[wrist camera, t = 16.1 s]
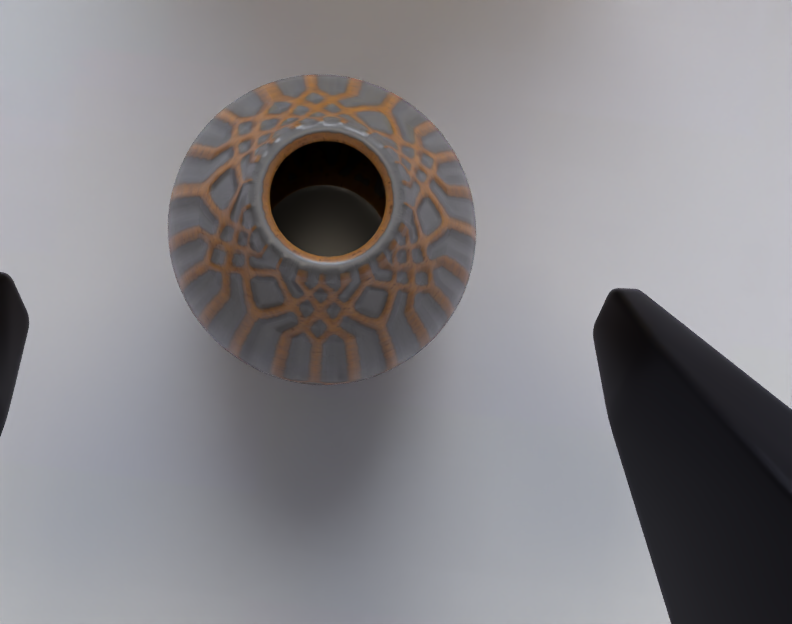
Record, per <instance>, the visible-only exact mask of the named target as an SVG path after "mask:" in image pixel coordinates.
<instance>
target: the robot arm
mask: <svg viewBox="0 0 792 624" xmlns="http://www.w3.org/2000/svg"><path fill="white" fill-rule="evenodd" d="M28 328H29V317H28V313H27V310H26V308H25V306H24V304H23V301H22V299H21V297H20V295H19V293H18V290H17V288H16V286H15V284H14V281H13V280H12V278H11V277H10V276H9V275H8V274H6V273H3V272H0V436H1V433H2V430H3V427H4V424H5V421H6V418H7V415H8V411H9V407H10V404H11V399H12V395H13V391H14V387H15V383H16V379H17V375H18V370H19V366H20V362H21V358H22V354H23V350H24V345H25V341H26V337H27V333H28ZM593 338H594V344H595V350H596V355H597V360H598V366H599V371H600V377H601V382H602V388H603V393H604V399H605V404H606V409H607V414H608V418H609V422H610V426H611V429H612V433H613V436H614V439H615V443H616V446H617V449H618V452H619V456H620V459H621V462H622V465H623V469H624V472H625V475H626V478H627V482H628V485H629V488H630V491H631V495H632V498H633V501H634V504H635V508H636V511H637V514H638V517H639V521H640V524H641V527H642V530H643V534H644V537H645V540H646V543H647V547H648V550H649V553H650V556H651V560H652V563H653V566H654V569H655V573H656V576H657V579H658V582H659V586H660V589H661V592H662V595H663V599H664V602H665V605H666V608H667V611H668V615H669V618H670V621H671V624H792V409H790V408H789V407H788V406H786V405H785V404H784V403H783V402H781V401H780V400H779V399H778V398H776V397H775V396H774V395H772V394H771V393H770V392H769V391H767V390H766V389H765V388H764V387H762V386H761V385H760V384H759V383H757V382H756V381H755V380H753V379H752V378H751V377H750V376H748V375H747V374H746V373H745V372H743V371H742V370H741V369H740V368H738V367H737V366H736V365H734V364H733V363H732V362H731V361H729V360H728V359H727V358H726V357H724V356H723V355H722V354H720V353H719V352H718V351H717V350H715V349H714V348H713V347H712V346H710V345H709V344H708V343H707V342H705V341H704V340H703V339H701V338H700V337H699V336H698V335H696V334H695V333H694V332H693V331H691V330H690V329H689V328H687V327H686V326H685V325H684V324H682V323H681V322H680V321H679V320H677V319H676V318H675V317H674V316H672V315H671V314H670V313H668V312H667V311H666V310H665V309H663V308H662V307H661V306H660V305H658V304H657V303H656V302H654V301H653V300H652V299H651V298H649V297H648V296H647V295H646V294H644V293H643V292H642V291H640V290H638V289H626V288H616V289H613V290H612V291H611V292H610V293H609V294H608V296H607V298H606V300H605V302H604V304H603V307H602V309H601V311H600V313H599V315H598V317H597V319H596V322H595V324H594V329H593Z"/></svg>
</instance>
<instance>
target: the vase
mask: <svg viewBox="0 0 792 624" xmlns="http://www.w3.org/2000/svg"><path fill="white" fill-rule="evenodd" d="M168 240H169V248H170V256H171V260H172V265H173V269H174V272H175V276H176V279H177V282H178V284H179V287H180V289H181V292H182V294H183V296H184V298H185V300H186V302H187V304H188V305H189V307H190V309H191V311H192V312H193V314H194V315H195V317H196V318H197V319H198V321H199V322H200V324H201V325H202V326H203V327H204V328H205V330H206V331H207V332H208V333H209V334H210V335H211V336H212V337H213V338H214V339H215V340H216V341H217V342H218V343H219V344H220V345H221V346H222V347H223V348H225V349H226V350H227V351H228V352H230V353H231V354H232V355H234V356H235V357H236V358H238V359H240V360H241V361H243V362H244V363H246V364H248V365H250V366H251V367H253V368H255V369H257V370H259V371H262V372H264V373H266V374H269V375H271V376H274V377H277V378H280V379H284V380H288V381H292V382H298V383H303V384H314V385H334V384H344V383H351V382H356V381H360V380H364V379H367V378H371V377H374V376H377V375H379V374H382V373H384V372H386V371H388V370H391V369H393V368H395V367H396V366H398V365H400V364H402V363H403V362H405V361H407V360H408V359H409V358H411V357H412V356H414V355H415V354H417V353H418V352H419V351H420V350H421V349H423V348H424V347H425V346H426V345H427V344H428V343H429V342H430V341H431V340H432V339H433V338H434V337H435V336H436V335H437V334H438V333H439V332H440V331H441V329H442V328H443V327H444V326H445V324H446V323H447V322H448V320H449V319H450V317H451V316H452V314H453V313H454V311H455V309H456V307H457V305H458V304H459V302H460V300H461V298H462V295H463V293H464V291H465V288H466V285H467V283H468V280H469V276H470V273H471V269H472V264H473V259H474V253H475V244H476V219H475V211H474V205H473V200H472V195H471V191H470V188H469V184H468V181H467V178H466V176H465V173H464V171H463V168H462V166H461V164H460V162H459V160H458V158H457V156H456V154H455V152H454V151H453V149H452V148H451V146H450V145H449V143H448V141H447V140H446V139H445V137H444V136H443V135H442V134H441V132H440V131H439V130H438V129H437V128H436V127H435V125H434V124H433V123H432V122H431V121H430V120H429V119H428V118H427V117H426V116H425V115H424V114H422V113H421V112H420V111H419V110H417V109H416V108H415V107H414V106H412V105H411V104H410V103H408V102H407V101H405V100H404V99H402V98H401V97H399V96H397V95H396V94H394V93H392V92H390V91H388V90H386V89H384V88H382V87H379V86H377V85H374V84H372V83H369V82H366V81H363V80H359V79H355V78H350V77H345V76H338V75H318V74H314V75H302V76H295V77H289V78H285V79H281V80H277V81H274V82H271V83H268V84H266V85H263V86H261V87H259V88H256V89H254V90H252V91H250V92H248V93H247V94H245V95H243V96H242V97H240V98H238V99H237V100H235V101H233V102H232V103H231V104H229V105H228V106H227V107H225V108H224V109H223V110H222V111H221V112H219V113H218V114H217V115H216V116H215V117H214V118H213V119H212V120H211V121H210V122H209V123H208V124H207V125H206V127H205V128H204V129H203V130H202V131H201V133H200V134H199V135H198V137H197V138H196V139H195V141H194V142H193V144H192V145H191V147H190V149H189V151H188V152H187V154H186V156H185V158H184V160H183V162H182V164H181V167H180V169H179V172H178V174H177V177H176V180H175V183H174V187H173V190H172V195H171V200H170V206H169V214H168Z"/></svg>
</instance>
